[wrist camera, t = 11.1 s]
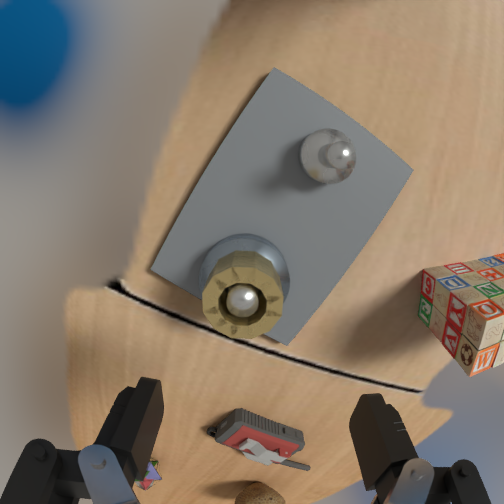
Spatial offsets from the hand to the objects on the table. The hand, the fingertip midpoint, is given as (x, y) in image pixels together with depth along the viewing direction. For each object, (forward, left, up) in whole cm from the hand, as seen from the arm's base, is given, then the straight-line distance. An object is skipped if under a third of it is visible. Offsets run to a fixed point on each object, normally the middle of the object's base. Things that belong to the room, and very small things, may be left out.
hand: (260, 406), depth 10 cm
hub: (+2, 0, -17) cm, 18 cm away
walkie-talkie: (+23, +18, -19) cm, 35 cm away
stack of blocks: (-13, +26, -19) cm, 35 cm away
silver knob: (-11, 0, -18) cm, 21 cm away
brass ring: (+2, 0, -16) cm, 16 cm away
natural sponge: (+37, +25, -19) cm, 49 cm away
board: (-5, 0, -19) cm, 19 cm away
